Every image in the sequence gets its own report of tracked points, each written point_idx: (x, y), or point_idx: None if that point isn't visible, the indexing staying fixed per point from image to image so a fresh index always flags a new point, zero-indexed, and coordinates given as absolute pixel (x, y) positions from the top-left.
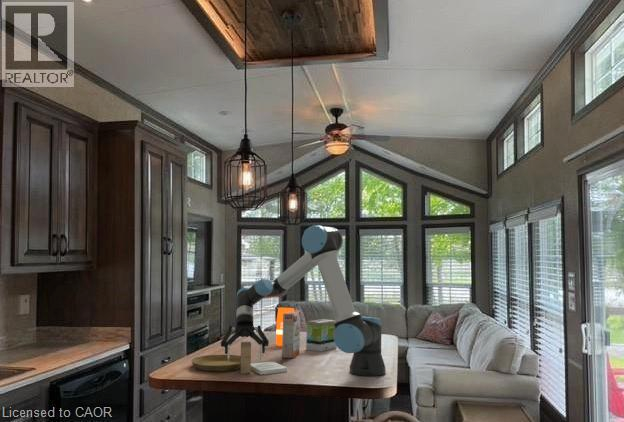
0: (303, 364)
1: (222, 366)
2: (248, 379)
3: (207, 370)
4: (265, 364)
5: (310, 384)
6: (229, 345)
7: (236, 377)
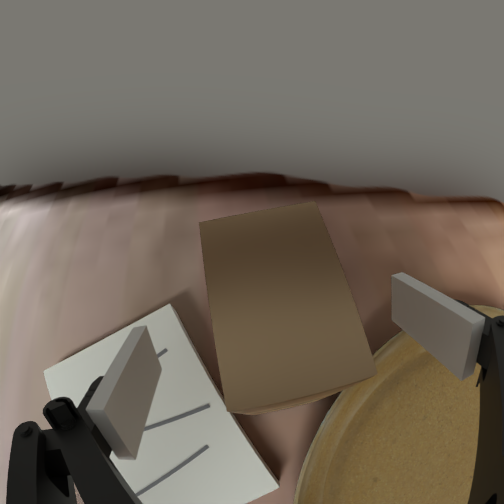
0: None
1: None
2: None
3: None
4: (151, 473)
5: (41, 199)
6: (468, 319)
7: None
